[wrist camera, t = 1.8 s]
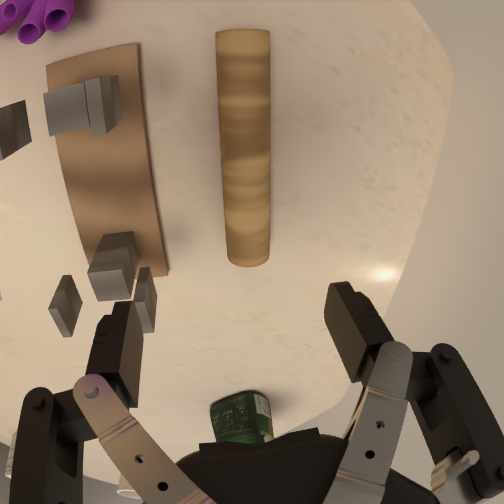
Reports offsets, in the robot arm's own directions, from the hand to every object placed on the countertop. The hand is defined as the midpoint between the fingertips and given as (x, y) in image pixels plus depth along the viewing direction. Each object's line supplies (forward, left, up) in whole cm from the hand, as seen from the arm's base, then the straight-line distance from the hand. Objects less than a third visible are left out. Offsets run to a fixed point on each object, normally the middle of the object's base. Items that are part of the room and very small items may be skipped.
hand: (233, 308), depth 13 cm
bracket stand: (-1, -9, -18) cm, 20 cm away
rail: (-2, +3, -18) cm, 18 cm away
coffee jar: (+39, +1, -18) cm, 43 cm away
